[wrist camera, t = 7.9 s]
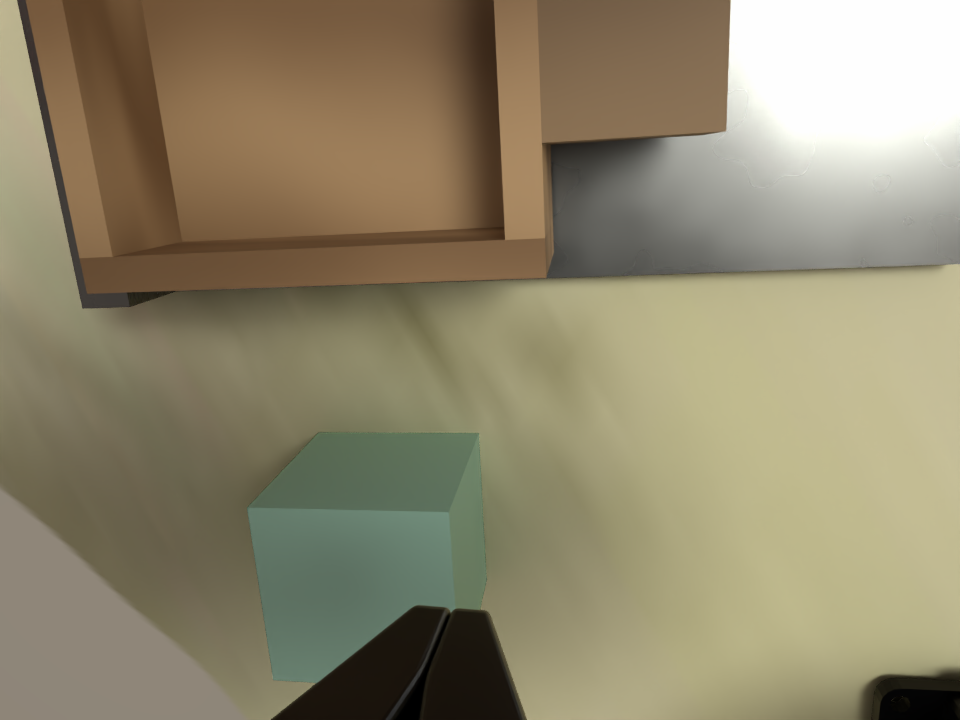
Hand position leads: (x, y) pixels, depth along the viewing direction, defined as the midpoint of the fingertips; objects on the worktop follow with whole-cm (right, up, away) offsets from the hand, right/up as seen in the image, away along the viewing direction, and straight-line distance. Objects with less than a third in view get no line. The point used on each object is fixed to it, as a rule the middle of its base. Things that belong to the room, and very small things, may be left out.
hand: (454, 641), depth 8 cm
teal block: (-2, -1, +12) cm, 12 cm away
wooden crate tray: (-1, +10, +8) cm, 13 cm away
